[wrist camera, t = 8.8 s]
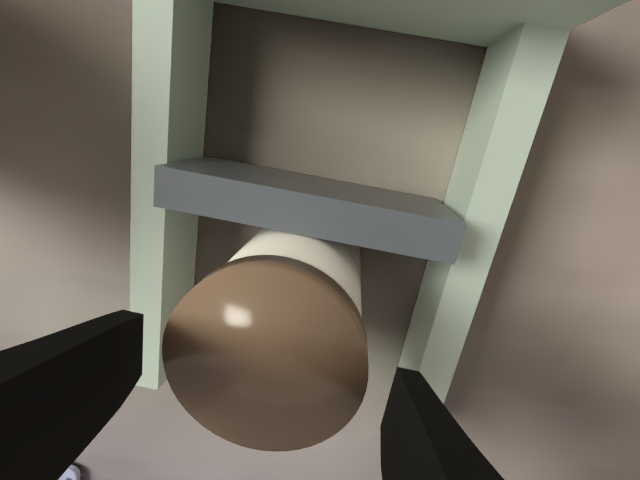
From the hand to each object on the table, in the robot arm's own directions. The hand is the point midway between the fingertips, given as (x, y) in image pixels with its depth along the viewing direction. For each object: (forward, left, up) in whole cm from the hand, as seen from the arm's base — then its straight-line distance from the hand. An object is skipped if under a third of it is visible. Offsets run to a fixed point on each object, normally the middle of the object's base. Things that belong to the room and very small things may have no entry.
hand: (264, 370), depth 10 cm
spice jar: (0, 0, -9) cm, 9 cm away
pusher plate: (+4, 0, -9) cm, 10 cm away
